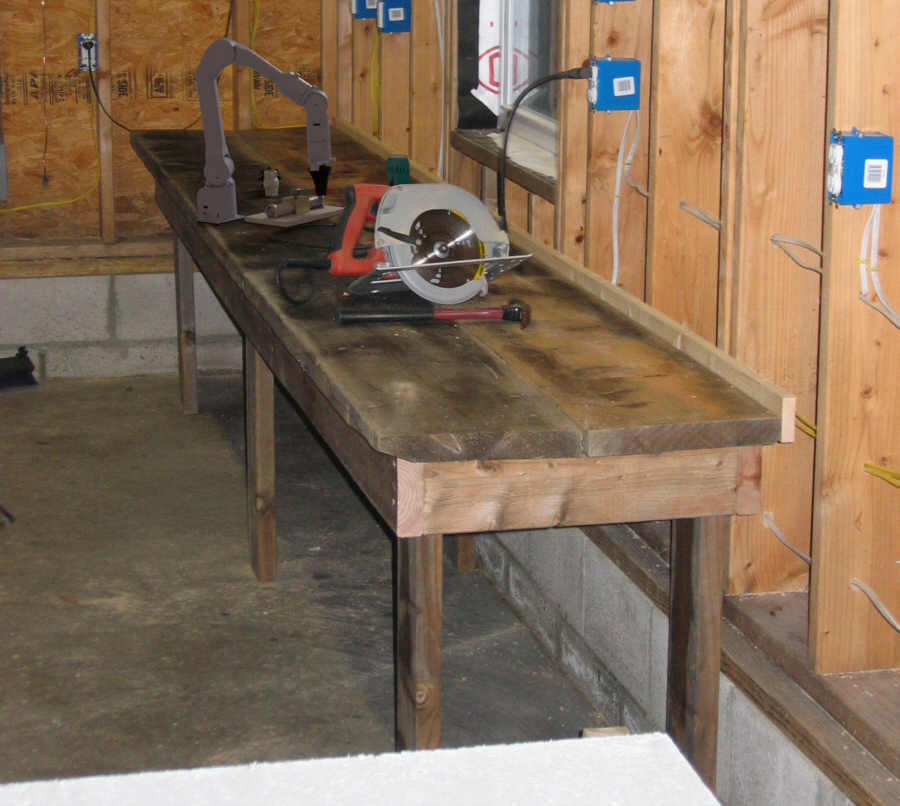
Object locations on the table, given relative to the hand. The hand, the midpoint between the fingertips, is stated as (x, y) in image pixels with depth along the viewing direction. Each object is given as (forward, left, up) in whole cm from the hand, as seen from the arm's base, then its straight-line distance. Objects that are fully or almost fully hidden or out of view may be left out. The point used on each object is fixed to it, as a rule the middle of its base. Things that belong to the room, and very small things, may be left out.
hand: (321, 195), depth 353 cm
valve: (+20, +38, -6) cm, 43 cm away
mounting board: (-3, +6, -5) cm, 9 cm away
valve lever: (0, +3, 0) cm, 3 cm away
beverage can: (+11, -16, -6) cm, 20 cm away
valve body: (-3, +6, -5) cm, 9 cm away
